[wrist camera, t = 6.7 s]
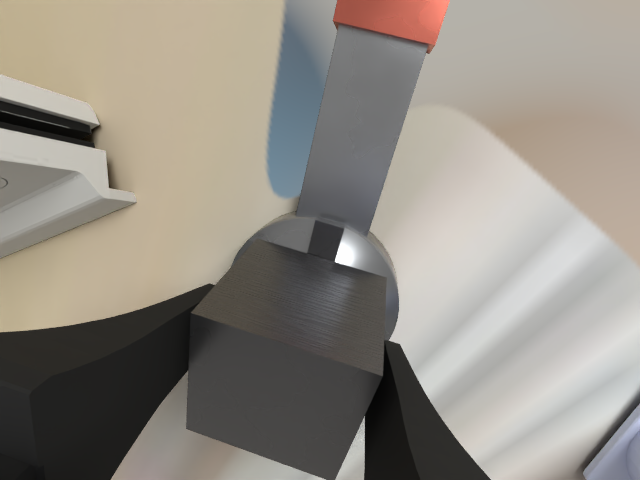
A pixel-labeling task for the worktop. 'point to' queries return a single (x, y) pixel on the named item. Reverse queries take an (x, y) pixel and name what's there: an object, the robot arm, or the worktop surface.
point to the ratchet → (359, 135)
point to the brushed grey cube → (287, 357)
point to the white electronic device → (49, 166)
